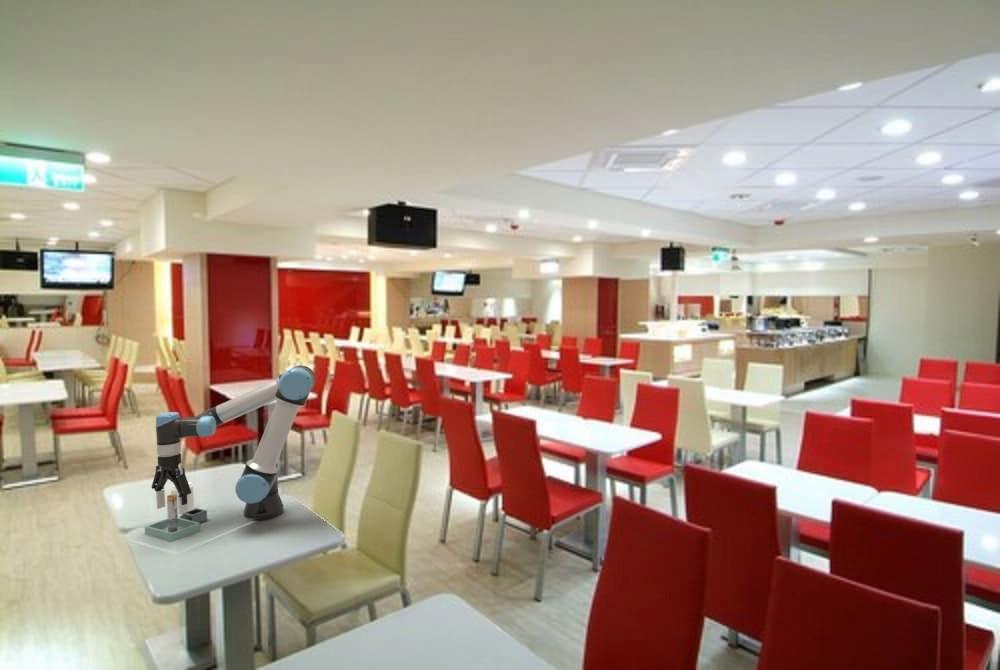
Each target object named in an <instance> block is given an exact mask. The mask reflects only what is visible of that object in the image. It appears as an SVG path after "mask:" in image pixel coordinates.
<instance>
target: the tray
mask: <svg viewBox="0 0 1000 670" xmlns="http://www.w3.org/2000/svg"><path fill="white" fill-rule="evenodd" d="M178 527H181V529H178V531H175V532H173V533H171V532H168V530H163V529H166V528H168V518H165V519H163V520H160V521H157V522H154V523H151V524H149V525H145V526H144V535H147V536H150V537H154V538H157V539H161V540H163V541H164V540H165V541H167V542H175V541H177V540H180V539H182V538H185V537H187V536H190V535H193V534H195V533H197V532H200V531H201V524H200V523H198V522H194V521H190V520H186V519H182V518H180V517H178Z"/></svg>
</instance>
